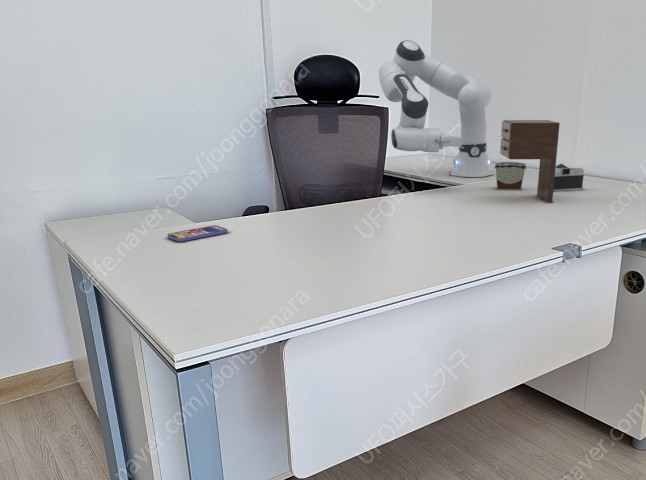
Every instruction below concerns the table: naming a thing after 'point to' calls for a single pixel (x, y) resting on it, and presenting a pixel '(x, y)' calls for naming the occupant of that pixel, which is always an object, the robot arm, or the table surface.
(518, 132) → the drawer unit
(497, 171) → the food container
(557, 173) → the camera
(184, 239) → the smartphone
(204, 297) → the table surface
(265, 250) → the table surface
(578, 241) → the table surface
